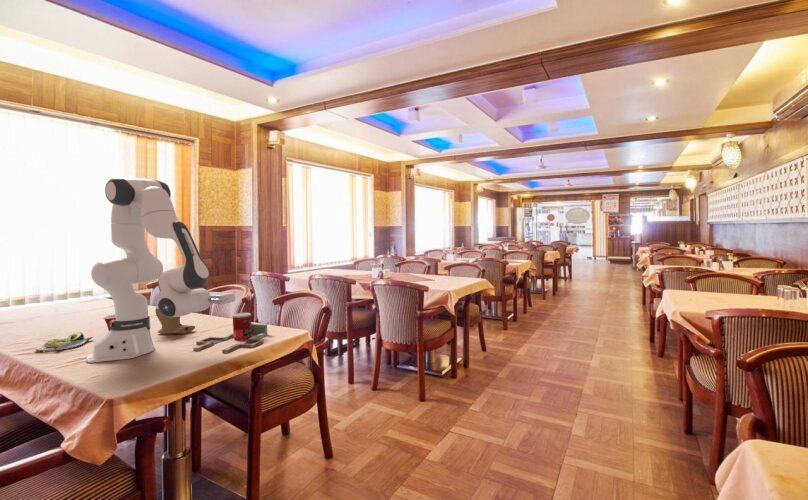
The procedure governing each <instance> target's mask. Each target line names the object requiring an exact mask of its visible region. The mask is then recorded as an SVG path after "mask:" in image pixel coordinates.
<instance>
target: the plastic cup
mask: <svg viewBox="0 0 808 500" xmlns="http://www.w3.org/2000/svg"><path fill="white" fill-rule="evenodd" d="M102 318H103V320H104V321H105V324H106V326H107V330H108V332H109V331H110V330H111V329H110V321H111V320H116V316H115V313H114V314H109V315H106V316H103V317H102Z"/></svg>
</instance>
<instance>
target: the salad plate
mask: <svg viewBox="0 0 808 500" xmlns="http://www.w3.org/2000/svg"><path fill="white" fill-rule="evenodd" d="M93 338H94V336H90V337H88V336H86V337H85V336H84V333H83V332H81V331H79V332H74V333H72V334H71V335H69V336H68V337H67V338H64V339H61V338H60V339H57V338H53V339H50V340H47V341H46V342H43V343H42V344H39V346H37V347H36V348H35V350H36V351H37V352H40V351H51V352H56V351H55V350H61V351H64V350H63V349H66V350H69V349H68V348H71V349H74V348H73V347H75V348H78V347H81V346H83V345H84V344H86V343H87V342H88V341H90V340H91V339H93ZM85 342H86V343H85ZM82 344H83V345H82ZM80 345H81V346H80ZM77 346H78V347H77ZM42 347H54V348H55V349H54V348H45V349H42Z"/></svg>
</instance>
